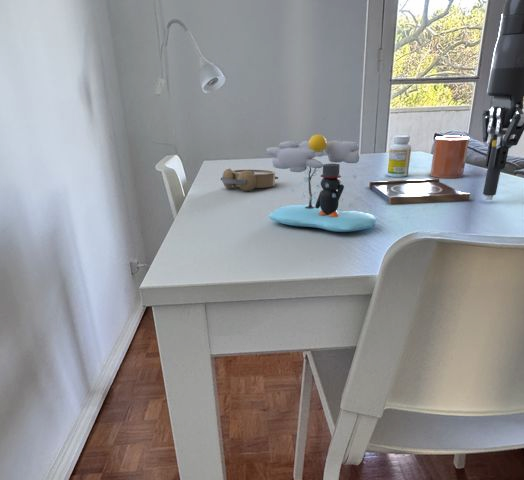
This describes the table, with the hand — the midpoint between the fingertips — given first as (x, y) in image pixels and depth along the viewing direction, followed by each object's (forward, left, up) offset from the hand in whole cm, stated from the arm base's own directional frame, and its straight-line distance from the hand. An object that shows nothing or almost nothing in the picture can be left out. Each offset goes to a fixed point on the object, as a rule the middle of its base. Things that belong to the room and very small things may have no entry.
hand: (494, 167), depth 92 cm
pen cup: (-4, -31, -7) cm, 32 cm away
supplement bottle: (+8, -34, -7) cm, 36 cm away
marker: (0, 0, -6) cm, 6 cm away
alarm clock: (+48, -27, -7) cm, 56 cm away
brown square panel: (+11, -11, -7) cm, 17 cm away
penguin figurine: (+36, +11, -7) cm, 38 cm away
